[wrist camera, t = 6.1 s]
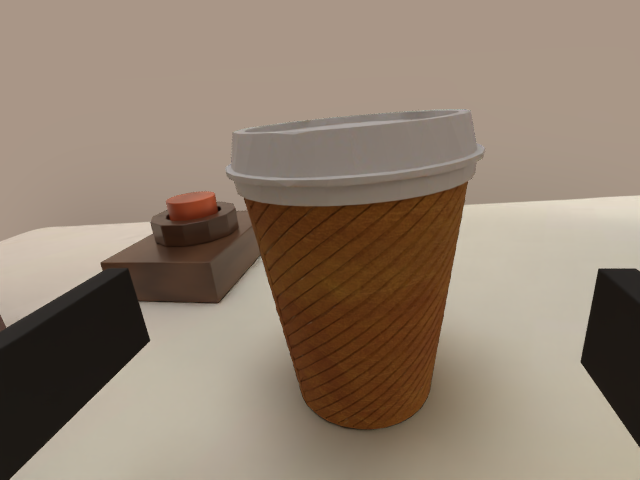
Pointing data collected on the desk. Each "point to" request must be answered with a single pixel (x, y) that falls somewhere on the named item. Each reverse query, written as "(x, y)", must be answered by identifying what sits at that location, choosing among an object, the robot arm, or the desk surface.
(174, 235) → the console
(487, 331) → the desk surface
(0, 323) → the tissue box cover
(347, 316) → the disposable coffee cup
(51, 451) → the desk surface
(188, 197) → the button
